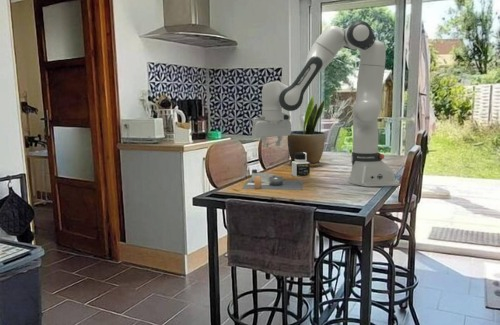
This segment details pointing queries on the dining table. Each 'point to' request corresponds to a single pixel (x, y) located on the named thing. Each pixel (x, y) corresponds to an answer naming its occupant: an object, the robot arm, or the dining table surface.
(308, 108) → the potted plant
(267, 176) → the crank
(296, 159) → the medicine bottle
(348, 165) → the dining table surface
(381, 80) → the robot arm
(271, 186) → the base plate
